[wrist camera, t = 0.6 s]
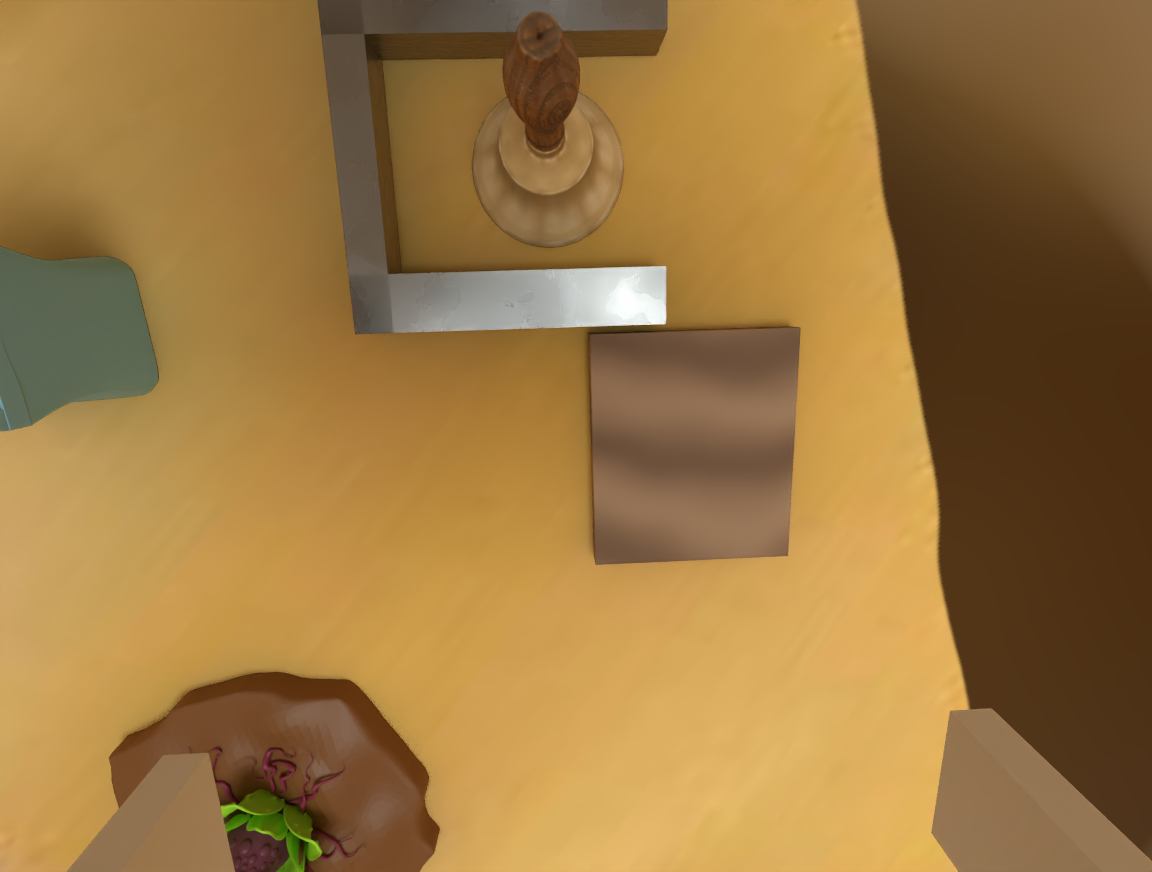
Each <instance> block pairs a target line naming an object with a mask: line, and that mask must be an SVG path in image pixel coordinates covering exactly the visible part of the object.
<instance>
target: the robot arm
mask: <svg viewBox="0 0 1152 872" xmlns="http://www.w3.org/2000/svg"><path fill="white" fill-rule="evenodd" d="M931 833H932V834H933V836H934V837H935V839H936V840H937V842H938V843H939V844H940V846H941V847H942V849H943V850H944V852H945V853H946V854H947V856H948V857H949V859H950V860H951V862H952V863H953V864H954V866H955V867H956V869H957V870H958V872H1152V861H1151V860H1150V859H1149V858H1148V857H1147V856H1146V855H1145V854H1143V853H1142V852H1141V851H1140V850H1139V849H1138V848H1137V847H1136V846H1135V845H1134V844H1133V843H1132V842H1131V841H1130V840H1129V839H1128V838H1127V837H1126V836H1125V835H1124V834H1122V833H1121V832H1120V831H1119V830H1118V829H1117V828H1116V827H1115V826H1114V825H1113V824H1112V823H1111V822H1110V821H1109V820H1108V819H1107V818H1106V817H1105V816H1104V815H1103V814H1101V813H1100V812H1099V811H1098V810H1097V809H1096V808H1095V807H1094V806H1093V805H1092V804H1091V803H1090V802H1089V801H1088V800H1087V799H1086V798H1085V797H1084V796H1083V795H1082V794H1081V793H1080V792H1078V791H1077V790H1076V789H1075V788H1074V787H1073V786H1072V785H1071V784H1070V783H1069V782H1068V781H1067V780H1066V779H1065V778H1064V777H1063V776H1062V775H1061V774H1060V773H1058V772H1057V771H1056V770H1055V769H1054V768H1053V767H1052V766H1051V765H1050V764H1049V763H1048V762H1047V761H1046V760H1045V759H1044V758H1043V757H1042V756H1041V755H1039V753H1037V751H1035V750H1034V749H1033V748H1032V747H1031V746H1030V745H1029V744H1028V743H1027V742H1026V741H1025V740H1024V739H1023V738H1022V737H1021V736H1020V735H1018V733H1017V732H1015V731H1014V730H1013V729H1012V728H1011V727H1010V726H1009V725H1008V724H1007V723H1006V722H1005V721H1004V720H1003V719H1002V718H1001V717H1000V716H999V715H998V714H997V713H996V712H995V711H993V710H992V709H974V710H956V711H950V715H949V721H948V728H947V734H946V741H945V747H944V754H943V760H942V767H941V773H940V780H939V786H938V793H937V800H936V806H935V813H934V819H933V826H932V832H931ZM67 872H235V869H234V865H233V860H232V856H231V851H230V847H229V842H228V838H227V833H226V829H225V824H224V820H223V815H222V811H221V806H220V802H219V798H218V793H217V789H216V784H215V780H214V775H213V771H212V766H211V762H210V757H209V753H195V754H177V755H163V756H162V757H161V759H160V760H159V761H158V762H157V763H156V765H155V766H154V767H153V768H152V769H151V771H150V772H149V773H148V774H147V775H146V777H145V778H144V779H143V780H142V781H141V783H140V784H139V785H138V786H137V788H136V789H135V790H134V791H133V792H132V794H131V795H130V796H129V797H128V798H127V800H126V801H125V802H124V803H123V804H122V806H121V807H120V808H119V809H118V810H117V812H116V813H115V814H114V815H113V816H112V818H111V819H110V820H109V821H108V823H107V824H106V825H105V826H104V827H103V829H102V830H101V831H100V832H99V833H98V835H97V836H96V837H95V838H94V839H93V841H92V842H91V843H90V844H89V845H88V847H87V848H86V849H85V850H84V851H83V853H82V854H81V855H80V856H79V858H78V859H77V860H76V861H75V862H74V864H73V865H72V866H71V867H70V868H69V870H68V871H67Z"/></svg>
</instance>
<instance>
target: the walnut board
mask: <svg viewBox="0 0 1152 872" xmlns="http://www.w3.org/2000/svg"><path fill="white" fill-rule="evenodd" d="M588 336H589V376H590V417H591V457H592V497H593V538H594V558H595V564H596V565H602V564H623V563H645V562H667V561H688V560H710V559H731V558H753V557H775V556H788V543H789V525H790V507H791V489H792V471H793V453H794V435H795V417H796V399H797V381H798V363H799V345H800V328H799V327H762V328H731V329H700V330H669V331H639V332H608V333H588Z"/></svg>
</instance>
